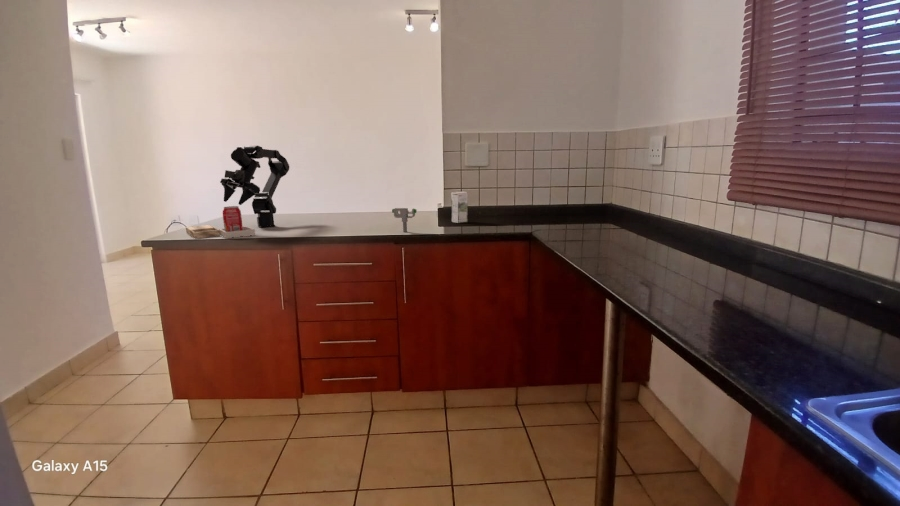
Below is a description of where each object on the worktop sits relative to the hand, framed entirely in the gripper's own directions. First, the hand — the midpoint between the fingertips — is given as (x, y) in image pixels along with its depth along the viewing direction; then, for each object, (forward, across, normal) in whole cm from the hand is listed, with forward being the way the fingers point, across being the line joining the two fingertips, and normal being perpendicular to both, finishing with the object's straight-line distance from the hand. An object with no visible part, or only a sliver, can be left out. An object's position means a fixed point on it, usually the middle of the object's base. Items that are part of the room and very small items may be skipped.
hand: (232, 203), depth 202 cm
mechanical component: (-10, +71, +26) cm, 77 cm away
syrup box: (-30, +81, +54) cm, 102 cm away
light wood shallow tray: (+16, -8, 0) cm, 18 cm away
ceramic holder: (+13, +8, +3) cm, 15 cm away
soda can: (+13, +7, +3) cm, 15 cm away
